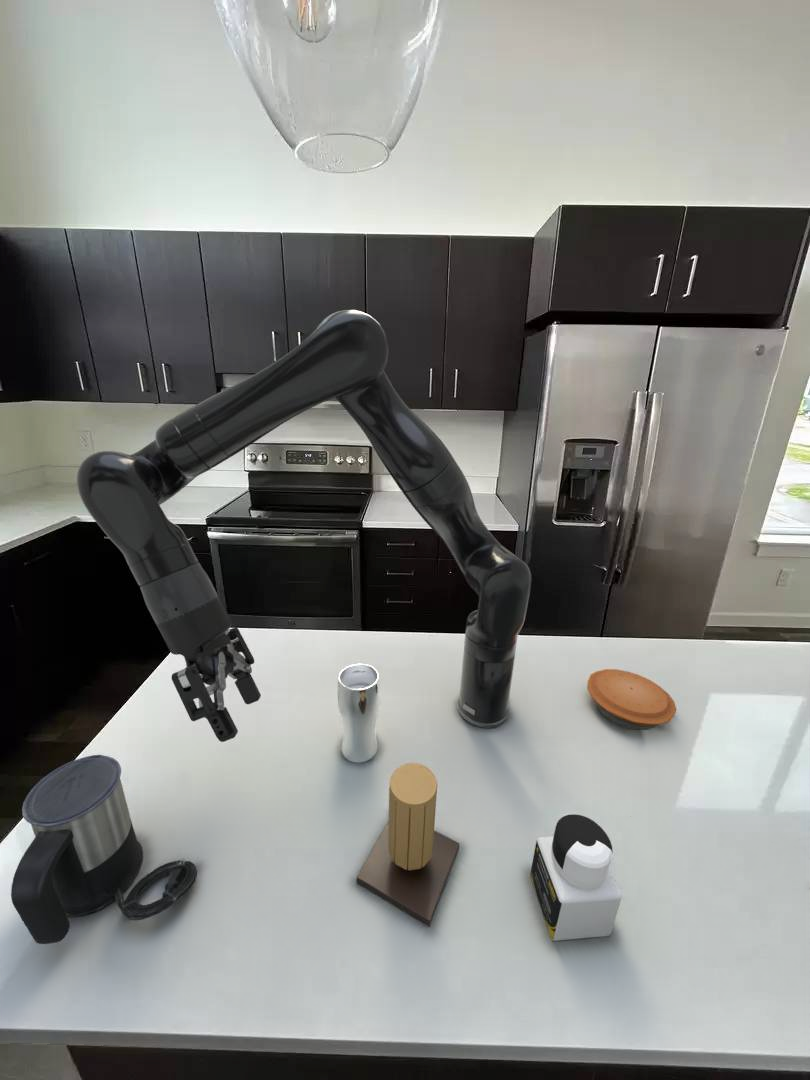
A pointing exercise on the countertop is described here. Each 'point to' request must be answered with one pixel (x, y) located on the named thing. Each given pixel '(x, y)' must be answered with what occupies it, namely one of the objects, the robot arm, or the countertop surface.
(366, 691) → the chrome tumbler
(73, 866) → the milk frother
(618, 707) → the pie
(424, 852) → the grooved tan cylinder
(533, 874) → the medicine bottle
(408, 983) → the countertop surface
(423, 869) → the peg stand
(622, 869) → the countertop surface
